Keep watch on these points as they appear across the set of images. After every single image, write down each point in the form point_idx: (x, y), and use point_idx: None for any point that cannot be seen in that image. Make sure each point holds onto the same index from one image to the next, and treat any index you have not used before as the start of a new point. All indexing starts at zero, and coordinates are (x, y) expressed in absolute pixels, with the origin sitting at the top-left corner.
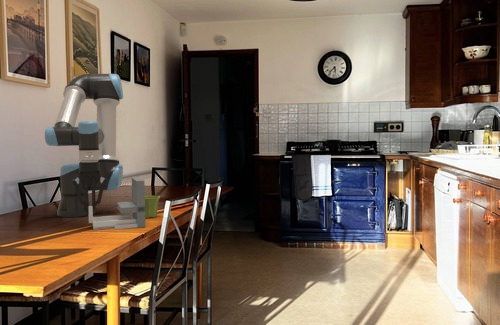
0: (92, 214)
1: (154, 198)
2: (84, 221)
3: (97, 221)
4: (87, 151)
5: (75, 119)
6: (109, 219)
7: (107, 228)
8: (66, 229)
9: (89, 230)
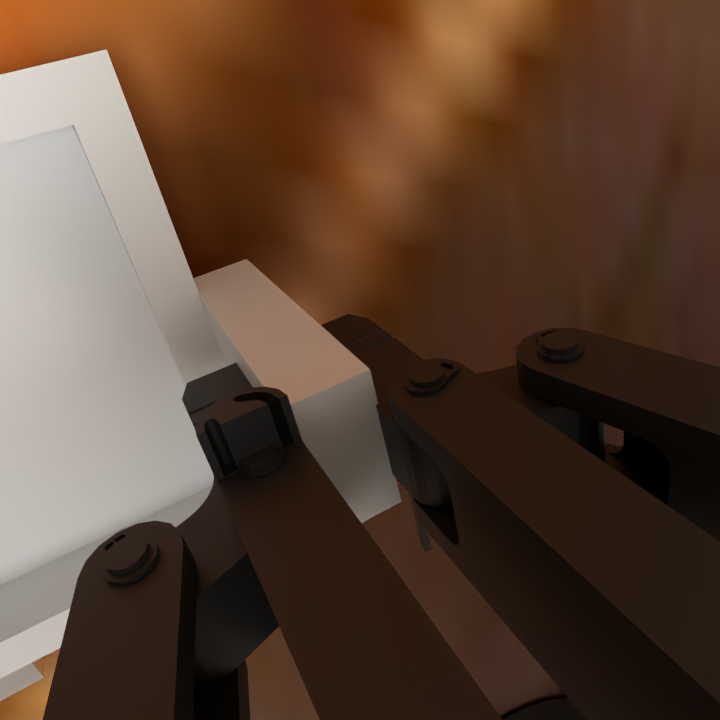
0: (227, 327)
1: None
2: None
3: (37, 124)
4: None
5: None
6: (22, 594)
7: None
8: (483, 176)
9: (158, 39)
